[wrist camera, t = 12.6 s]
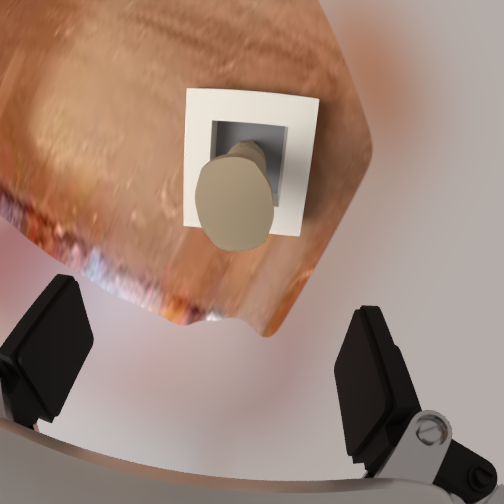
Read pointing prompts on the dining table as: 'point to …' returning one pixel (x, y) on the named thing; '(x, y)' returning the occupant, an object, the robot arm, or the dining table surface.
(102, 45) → the dining table surface
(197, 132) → the socket stand
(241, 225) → the handle
